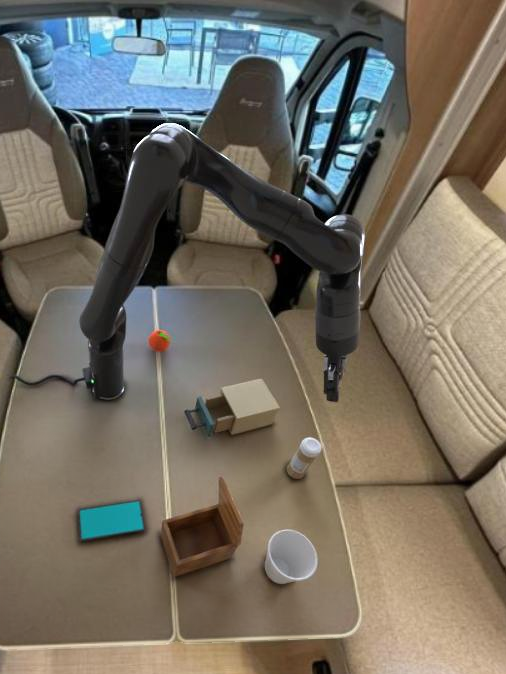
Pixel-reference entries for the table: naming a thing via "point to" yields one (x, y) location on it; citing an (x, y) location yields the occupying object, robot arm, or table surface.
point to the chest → (197, 539)
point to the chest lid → (230, 511)
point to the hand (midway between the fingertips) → (336, 385)
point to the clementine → (159, 340)
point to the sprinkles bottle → (304, 457)
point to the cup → (290, 557)
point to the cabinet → (250, 405)
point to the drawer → (212, 415)
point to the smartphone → (110, 520)
